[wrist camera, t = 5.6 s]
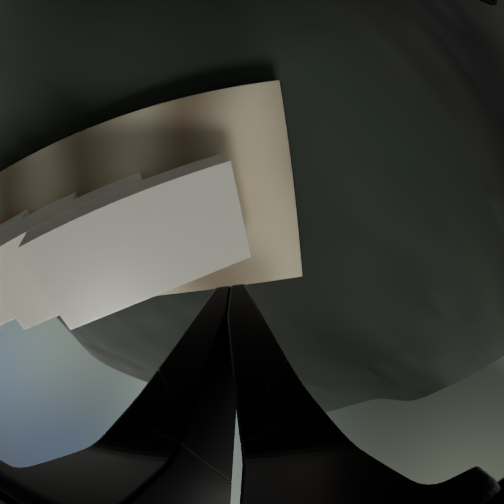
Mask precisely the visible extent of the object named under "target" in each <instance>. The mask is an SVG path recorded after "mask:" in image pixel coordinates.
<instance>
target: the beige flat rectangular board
mask: <svg viewBox="0 0 504 504" xmlns="http://www.w3.org/2000/svg"><path fill="white" fill-rule="evenodd" d="M218 154H219V155H221V156H223V157H225V158H227V159H228V160H230V161H231V165H232V169H233V174H234V179H235V183H236V188H237V193H238V198H239V202H240V207H241V212H242V217H243V221H244V226H245V231H246V235H247V240H248V245H249V250H250V254H251V257H250V258H247V259H245V260H242V261H240V262H237V263H235V264H233V265H230V266H228V267H225V268H223V269H220V270H218V271H215V272H213V273H211V274H208V275H206V276H203V277H201V278H198V279H196V280H193V281H191V282H188V283H186V284H184V285H181V286H179V287H176V288H174V289H171V290H169V291H166V292H164V293H161V294H159V295H167V294H175V293H184V292H192V291H200V290H208V289H216V288H217V287H222V286H230V287H231V286H232V285H237V284H245V285H246V284H253V283H260V282H267V281H274V280H281V279H288V278H294V277H301V276H302V267H301V255H300V243H299V232H298V222H297V212H296V202H295V193H294V184H293V175H292V167H291V159H290V151H289V143H288V136H287V129H286V121H285V114H284V108H283V101H282V94H281V88H280V82H279V80H274V81H266V82H259V83H252V84H246V85H240V86H234V87H229V88H223V89H218V90H213V91H208V92H204V93H199V94H195V95H191V96H187V97H183V98H179V99H175V100H171V101H167V102H164V103H160V104H157V105H153V106H150V107H147V108H143V109H140V110H137V111H134V112H131V113H128V114H125V115H122V116H119V117H116V118H114V119H111V120H108V121H105V122H103V123H100V124H97V125H95V126H92V127H90V128H87V129H85V130H83V131H80V132H78V133H75V134H73V135H71V136H69V137H66V138H64V139H62V140H60V141H57V142H55V143H53V144H51V145H49V146H47V147H45V148H43V149H41V150H39V151H37V152H35V153H33V154H31V155H29V156H27V157H25V158H24V159H22V160H20V161H18V162H16V163H14V164H13V165H11V166H9V167H7V168H6V169H4V170H2V171H1V172H0V219H3V221H4V222H6V221H7V220H9V219H11V218H13V217H14V216H16V215H18V214H20V213H22V212H23V211H25V210H27V209H28V211H29V213H30V214H32V213H34V212H36V211H38V210H40V209H42V208H43V207H45V206H47V205H50V204H52V203H54V202H56V201H58V200H60V199H62V198H64V197H66V196H68V195H70V194H73V193H75V192H76V193H77V196H78V197H81V196H83V195H85V194H87V193H90V192H92V191H94V190H96V189H99V188H101V187H103V186H106V185H108V184H111V183H113V182H115V181H118V180H120V179H123V178H125V177H128V176H131V175H133V174H136V173H138V172H140V174H141V177H142V180H144V179H147V178H150V177H152V176H155V175H158V174H161V173H163V172H166V171H169V170H172V169H175V168H178V167H181V166H184V165H187V164H190V163H193V162H196V161H199V160H202V159H205V158H208V157H212V156H215V155H218ZM156 296H158V295H156Z"/></svg>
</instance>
